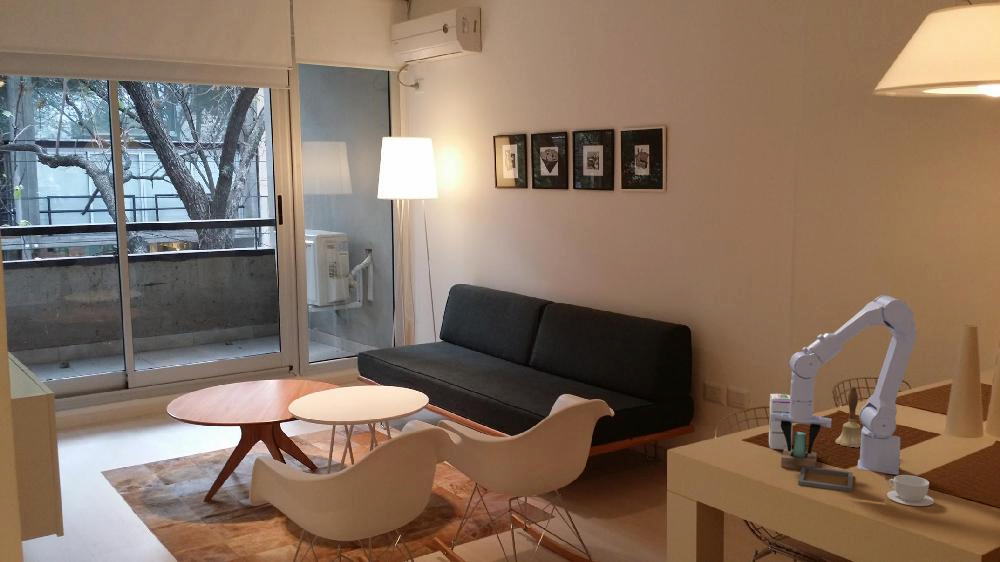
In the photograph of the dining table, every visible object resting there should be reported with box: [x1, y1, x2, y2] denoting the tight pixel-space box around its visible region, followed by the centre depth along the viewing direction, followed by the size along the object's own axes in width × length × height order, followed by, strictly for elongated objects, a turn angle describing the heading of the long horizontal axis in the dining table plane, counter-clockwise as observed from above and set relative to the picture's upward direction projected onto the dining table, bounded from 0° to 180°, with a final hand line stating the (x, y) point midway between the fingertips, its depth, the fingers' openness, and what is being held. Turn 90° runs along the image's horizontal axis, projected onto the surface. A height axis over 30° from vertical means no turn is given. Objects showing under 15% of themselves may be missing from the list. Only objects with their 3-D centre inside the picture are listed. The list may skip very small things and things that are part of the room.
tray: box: [797, 466, 854, 493], centre depth 216 cm, size 12×12×1 cm
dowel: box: [792, 431, 807, 458], centre depth 227 cm, size 3×3×8 cm
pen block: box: [780, 448, 818, 470], centre depth 228 cm, size 8×8×3 cm
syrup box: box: [768, 393, 793, 450], centre depth 242 cm, size 6×6×14 cm
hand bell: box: [834, 386, 862, 449], centre depth 246 cm, size 8×8×16 cm
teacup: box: [886, 474, 935, 507], centre depth 205 cm, size 10×10×5 cm
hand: (799, 451), depth 227 cm, fingers open, 4 cm apart
